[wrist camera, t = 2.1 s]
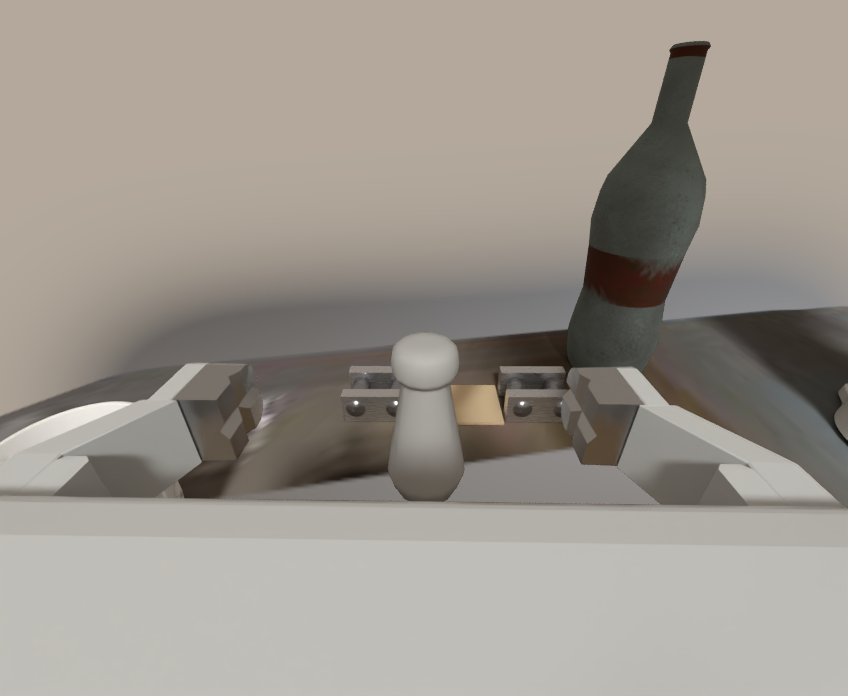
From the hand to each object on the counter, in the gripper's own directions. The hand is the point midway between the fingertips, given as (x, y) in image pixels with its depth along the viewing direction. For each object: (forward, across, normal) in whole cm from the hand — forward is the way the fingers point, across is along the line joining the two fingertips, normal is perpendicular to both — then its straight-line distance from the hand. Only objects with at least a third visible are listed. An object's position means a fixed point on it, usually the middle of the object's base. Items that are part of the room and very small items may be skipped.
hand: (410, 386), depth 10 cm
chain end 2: (+22, -11, +18) cm, 31 cm away
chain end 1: (+22, +4, +18) cm, 29 cm away
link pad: (+22, -3, +18) cm, 29 cm away
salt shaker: (+12, 0, +19) cm, 22 cm away
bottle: (+30, -21, +18) cm, 41 cm away
